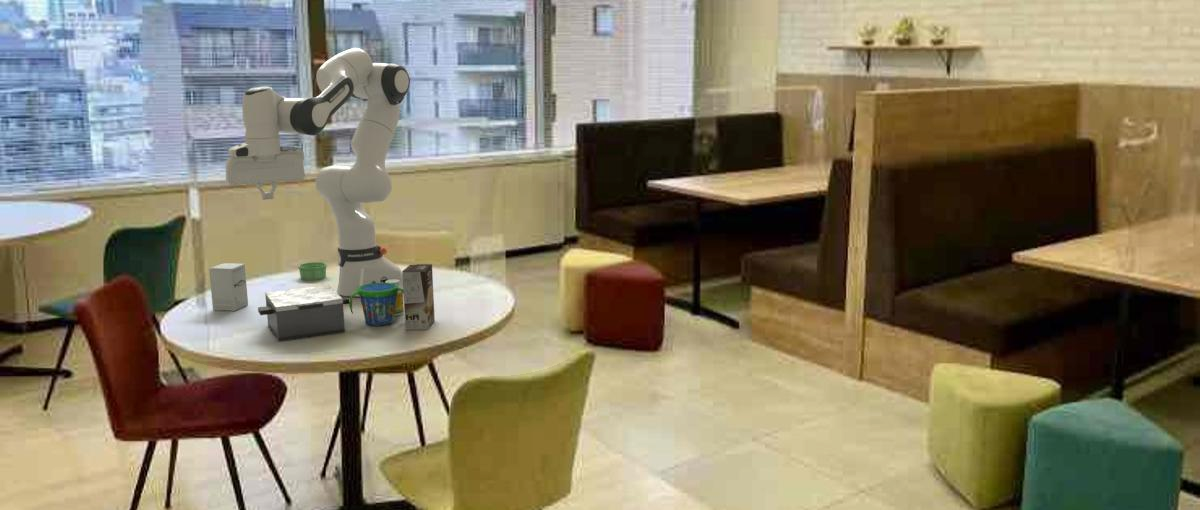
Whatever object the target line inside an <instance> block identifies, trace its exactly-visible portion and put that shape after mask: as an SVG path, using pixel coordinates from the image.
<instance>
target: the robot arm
mask: <svg viewBox="0 0 1200 510" xmlns="http://www.w3.org/2000/svg"><path fill="white" fill-rule="evenodd" d="M315 77H316V84H317V86H318V89H319V90H320V91H321V93H320V94H319V95H318V96H316V97H286V96H283V95H280V93H277V92H276V91H274V89H273V88H272V86H266V85H263V86H253V87H251V88H248V89H247V90H245V91H244V93H243V95H242V103H241V104H242V105H241V107H242V121H243V125H244V127H245V134H244V141H245V142H242V143H240V144H237V145H234V146H231V147H229V148H228V155H229V158H228V159H227V160H226V162H225V181H226V183H227V184H228V185H229V186H240V185H252V184H253V185H254V184H255V186H256V188H257V190H259V192H260V193H261V200H262V201H263V200H274V198H275V196H274V194H275V191H276V189H277V187H278V183H280V182H291V181H292V182H295V181H303V180H304V179H305V177H306V172H305V168H304V163H303V162H304V159H305V155H304V151H303V149H302V148H300V147H298V146H295V145H294V146H281V138H280V134H281V133H282V134H283V133H284V134H295V135H296V134H298V135H299V134H300V135H301V134H302V135H306V136H316V135H319V134H320V133H322V132H323V130H324V129H325V127H326V126H327V124H328V122H329V121H330V119H331V118H332V117H333V115H334V114H335V113H336V112H337V111H338V110H339V109H340V108H341V107H342V106H343V105H344V104H346V102H347V101H348V100H350V98H351V97H352V98H354V99H365V100H367V107H366V108H365V109H366V110H364V112H363V114H362V116H361V118H360V120H359V123H358V125H357V127H356V129H355V131H354V134H353V136H352V139H351V141H350V147H351V150H352V152H353V153H354V154H355V156H356V160H355V163H354V164H353V165H347V164H346V165H345V164H334V165H329V166H324V167H322V168H321V169H320V170H319V171H318V172H317V174H316V177H315V188H316V191H317V193H318V194H319V195H320V196H321V197H322V198H323V199H324V200H325V201H326V203H328V206H329V207H330V209H331V211H332V213H333V216H334V219H335V222H336V227H337V228H336V229H337V237H338V248H337V261H338V262H337V263H338V266H339V273H338V274H339V278H338V284H337V289H336V293H337V294H338V295H339V296H342V297H344V296H346V297H351V295H352V293H353V292H354V291H356V290H357V289H358V288H359V287H360V286H362V285H366V284H371V283H385V281H387V280H394V279H395V280H399V281H400V286H399V287H401V288H402V289H403V276H402V269H401V268H400V267H399V266H398V265H396V264H395V263H394V262H392V261H391V260H389V259H387V258H386V257H384V256H383V255H386V254H387V253H388V250H387V248H386V247H384V246H380V245H378V244H377V240H376V225H375V221H374V218H373V217H372V216H370V214H368V213H367V212H366V210H365V209H364V207H363V206H362V205H363V204H373V203H379V202H383V201H385V200H387V198H388V197H389V196H390V194H391V192H392V187H393V184H392V179H391V176H390V174H389V173H388V172H387V170H386V164H385V163H386V157H387V154H388V151H389V148H390V146H391V144H392V140H393V138H394V135H395V132H396V130H397V126H398V122H399V119H400V114H401V110H400V109H401V108H400V107H399V104H401V103H402V102H403V100H404V98H405V97H406V95H407V93H408V92H409V91H408V90H409V88H410V83H411V82H410V81H411V79H410V75H409V72H408V71H407V69H406V68H405V67H404V66H402V65H400V64H396V63H384V62H373V61H372V58H371V56H370V55H369V54H368V52H367V51H365V50H364V49H362V48H358V47H352V48H348V49H346V50H343V51H341V52H339V53H337V54H336V55H333V56H332V57H330V59H328V60H326V61H325V62H324V63H322V64H321V65H320V67H319V68H318V69H317V71H316V76H315ZM279 133H280V134H279ZM267 183H269V185H270V186H271V189H270V190H269V191H267V192H266V191H265V192H264V190H263V189H262V188H263V187H264V185H263V184H267ZM362 203H363V204H362ZM353 297H355V298H356V297H359V298H361V297H360V295H359V294H355V295H354V296H353Z"/></svg>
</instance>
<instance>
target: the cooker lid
mask: <svg viewBox="0 0 1200 510" xmlns="http://www.w3.org/2000/svg"><path fill="white" fill-rule="evenodd" d="M264 294H265V299H266V298H267V300H268V301H269V302H270V304H271V305H272V307H273V308H274V310H275V311H276V312H278V311H286V310H294V309H299V310H304V309H311V308H319V307H323V306H325V305H333V304H340V303H343V299H342V298H341V297H342V296H341V295H339V294H337V291H336V290H335V289H333V287H331V286H330V285H329V284H326V285H317V286H309V287H302V288H301V287H300V288H293V289H283V290H277V291H276V290H275V291H269V292H268V291H267V292H265V293H264Z"/></svg>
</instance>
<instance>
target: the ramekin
mask: <svg viewBox="0 0 1200 510" xmlns="http://www.w3.org/2000/svg"><path fill="white" fill-rule="evenodd" d="M327 266H328V263H326V262H323V261H322V262H321V261H310V262H305V263H301V264H299V265H298V270H299V271H298V272H299V275H300V279H301V280H303V281H317V280H323V279H324V278H326V276H327Z"/></svg>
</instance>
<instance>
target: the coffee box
mask: <svg viewBox="0 0 1200 510" xmlns="http://www.w3.org/2000/svg"><path fill="white" fill-rule="evenodd" d="M401 272H402V276H403V306H404V313H403V315H404V329H405V330H406V331H407V330H408V331H413V330H414V331H415V330H416V331H418V330H421V331H423V330H424V331H425V330H429V329H430V327H431V326H432V325H433V324H434V323H435V319H436V317H435V299H434V298H435V297H434V280H433V264H430V263H429V264H428V263H425V264H424V263H422V264H409V265H408V266H406V267H405V268H404V269H403V270H401Z"/></svg>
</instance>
